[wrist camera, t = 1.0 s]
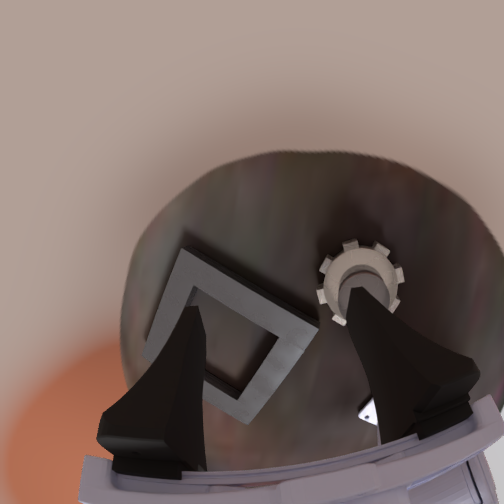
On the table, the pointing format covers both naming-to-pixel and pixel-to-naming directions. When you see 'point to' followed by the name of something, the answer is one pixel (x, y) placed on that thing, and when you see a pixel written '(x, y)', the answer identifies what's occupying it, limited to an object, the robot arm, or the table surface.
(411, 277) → the table surface
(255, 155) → the table surface
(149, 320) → the table surface
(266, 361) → the carrier plate
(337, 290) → the planet gear
